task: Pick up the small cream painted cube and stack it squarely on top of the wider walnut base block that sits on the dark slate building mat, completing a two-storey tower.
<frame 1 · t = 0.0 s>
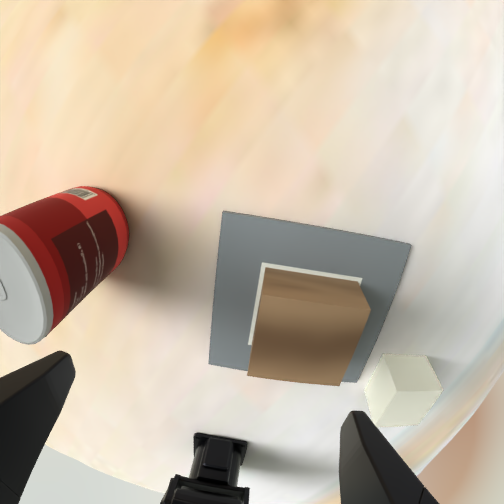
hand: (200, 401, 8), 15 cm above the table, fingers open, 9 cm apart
building mat: (302, 311, 23), on the table
cream cube: (395, 373, 25), on the table
walnut base: (302, 314, 23), resting on building mat
canned food: (93, 228, 23), on the table
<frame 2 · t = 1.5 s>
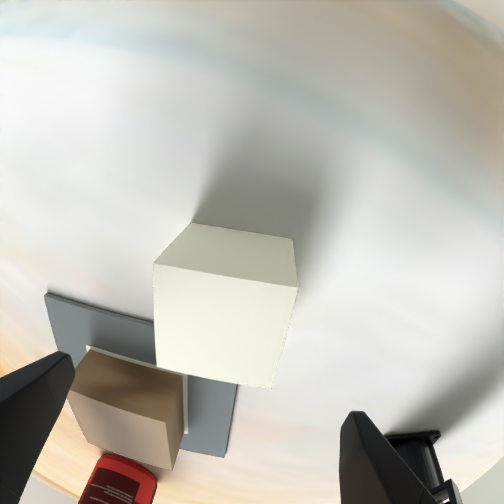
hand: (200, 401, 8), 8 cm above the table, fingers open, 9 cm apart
building mat: (140, 390, 20), on the table
cream cube: (234, 275, 16), on the table
walnut base: (138, 395, 19), resting on building mat
canned food: (129, 468, 27), on the table
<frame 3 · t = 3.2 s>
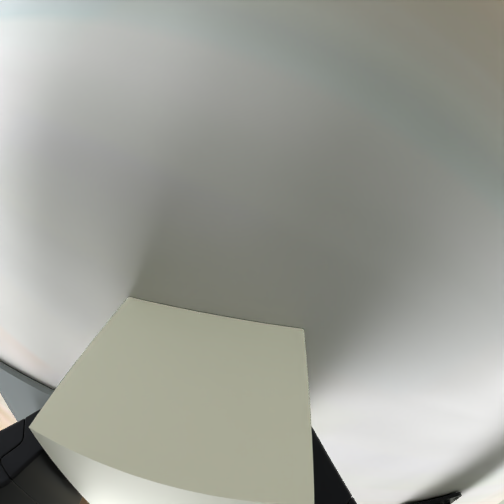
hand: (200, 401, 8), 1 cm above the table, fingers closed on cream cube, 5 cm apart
building mat: (107, 465, 13), on the table
cream cube: (207, 377, 9), on the table, touching gripper
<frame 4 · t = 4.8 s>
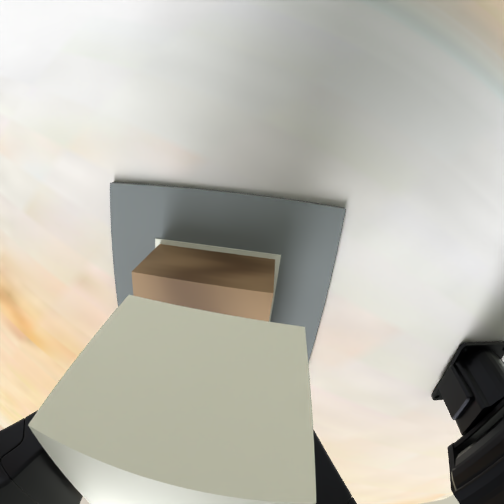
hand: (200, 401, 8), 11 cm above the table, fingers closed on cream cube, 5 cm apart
building mat: (213, 298, 19), on the table
cream cube: (208, 375, 9), point 10 cm above the table, touching gripper
walnut base: (212, 302, 19), resting on building mat
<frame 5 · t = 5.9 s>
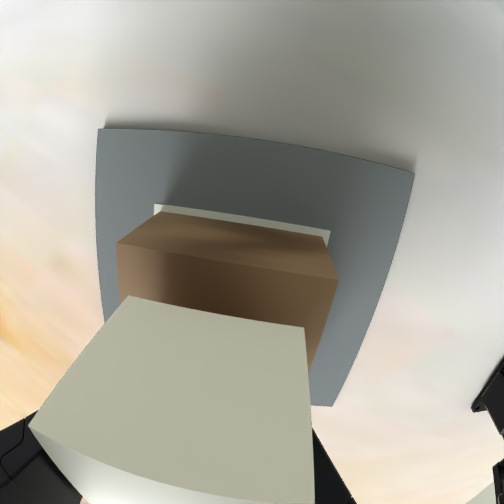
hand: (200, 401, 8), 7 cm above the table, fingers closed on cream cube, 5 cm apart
building mat: (231, 290, 14), on the table
cream cube: (207, 376, 9), point 6 cm above the table, touching gripper
walnut base: (230, 295, 14), resting on building mat
when the fingers open (7 cm above the table, at t = 6.6 s): cream cube drops 1 cm, resting on walnut base.
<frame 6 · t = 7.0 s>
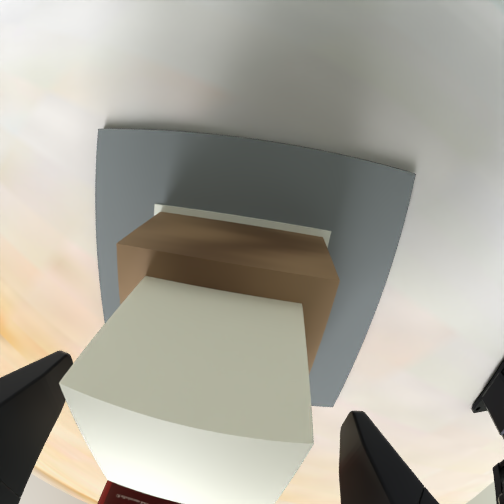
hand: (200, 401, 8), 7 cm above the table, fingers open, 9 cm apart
building mat: (232, 291, 14), on the table
cream cube: (214, 351, 10), point 4 cm above the table, touching walnut base
walnut base: (230, 296, 14), resting on building mat, touching cream cube
canned food: (168, 452, 21), on the table
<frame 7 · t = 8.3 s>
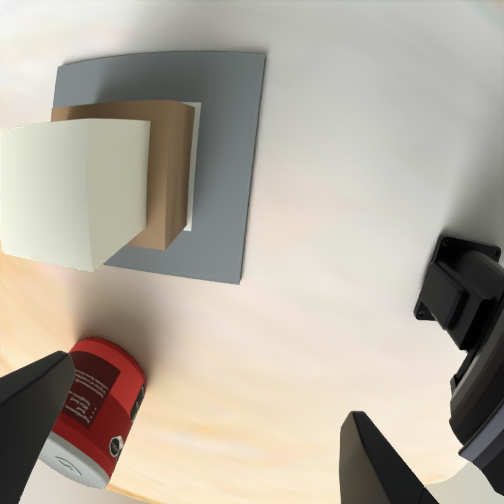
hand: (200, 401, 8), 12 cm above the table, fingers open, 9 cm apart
building mat: (137, 163, 17), on the table
cream cube: (101, 173, 13), point 4 cm above the table, touching walnut base
walnut base: (134, 164, 17), resting on building mat, touching cream cube
canned food: (111, 367, 24), on the table
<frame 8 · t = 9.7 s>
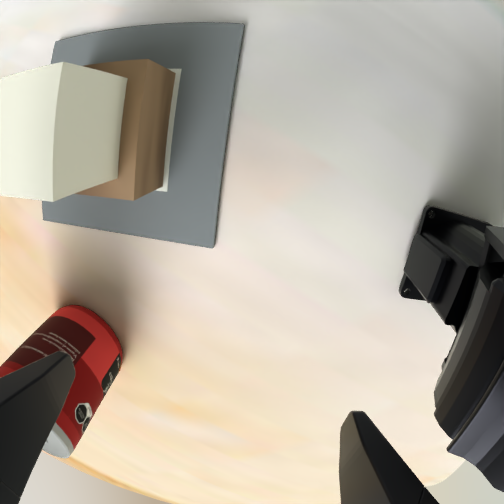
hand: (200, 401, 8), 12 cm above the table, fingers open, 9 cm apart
building mat: (121, 127, 17), on the table
cream cube: (81, 128, 13), point 4 cm above the table, touching walnut base
walnut base: (117, 127, 16), resting on building mat, touching cream cube
canned food: (90, 338, 24), on the table
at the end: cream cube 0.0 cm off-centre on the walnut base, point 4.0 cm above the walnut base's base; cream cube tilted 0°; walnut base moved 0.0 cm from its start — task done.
